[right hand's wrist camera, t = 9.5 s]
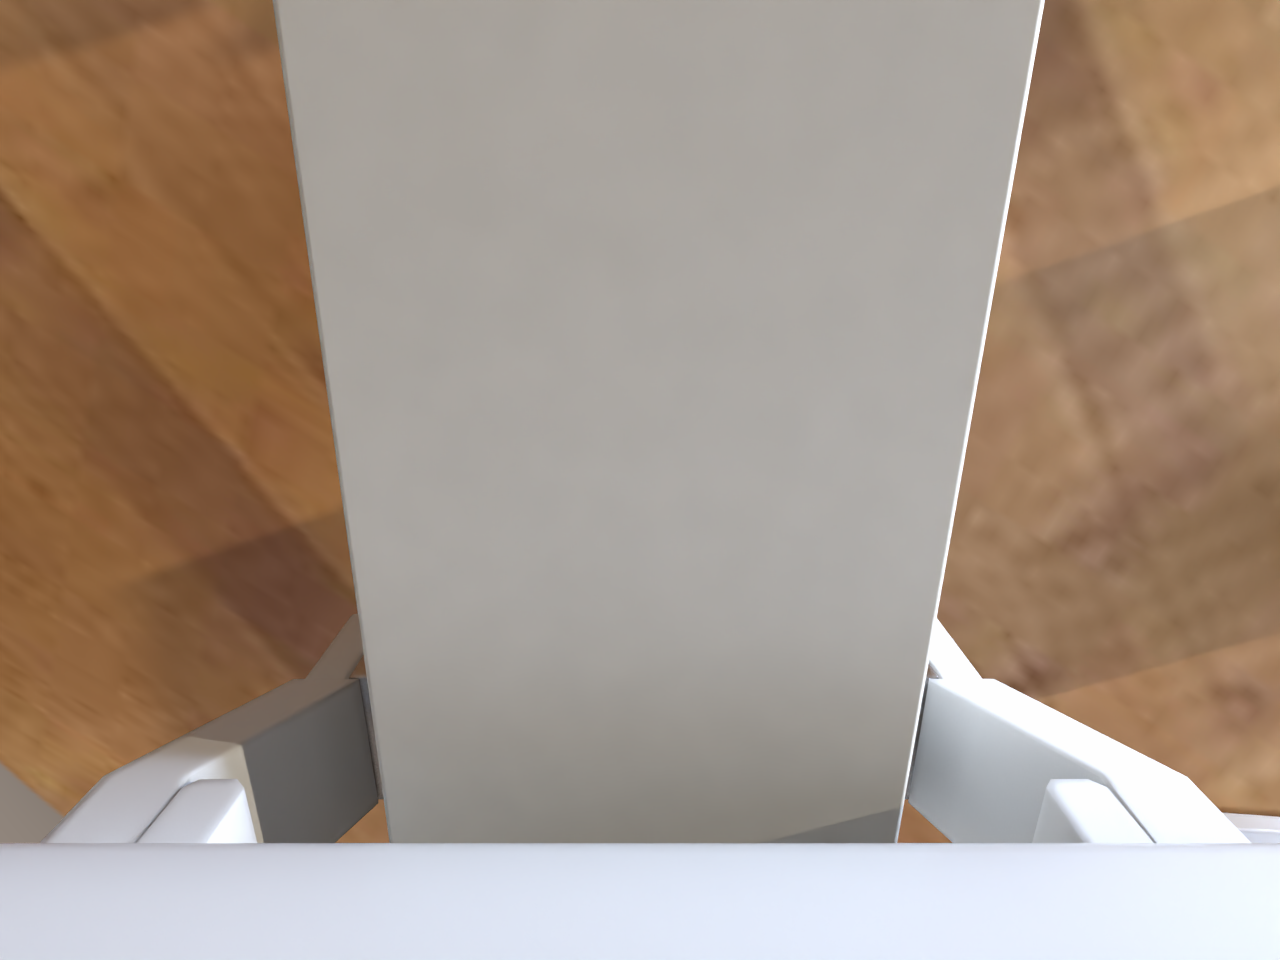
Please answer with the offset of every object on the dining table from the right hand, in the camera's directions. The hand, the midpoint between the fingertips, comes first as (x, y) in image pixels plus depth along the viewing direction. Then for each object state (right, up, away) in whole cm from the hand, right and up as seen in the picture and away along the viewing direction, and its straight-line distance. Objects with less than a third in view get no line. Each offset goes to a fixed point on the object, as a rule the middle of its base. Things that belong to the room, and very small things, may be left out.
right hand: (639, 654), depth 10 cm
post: (0, +25, -6) cm, 26 cm away
